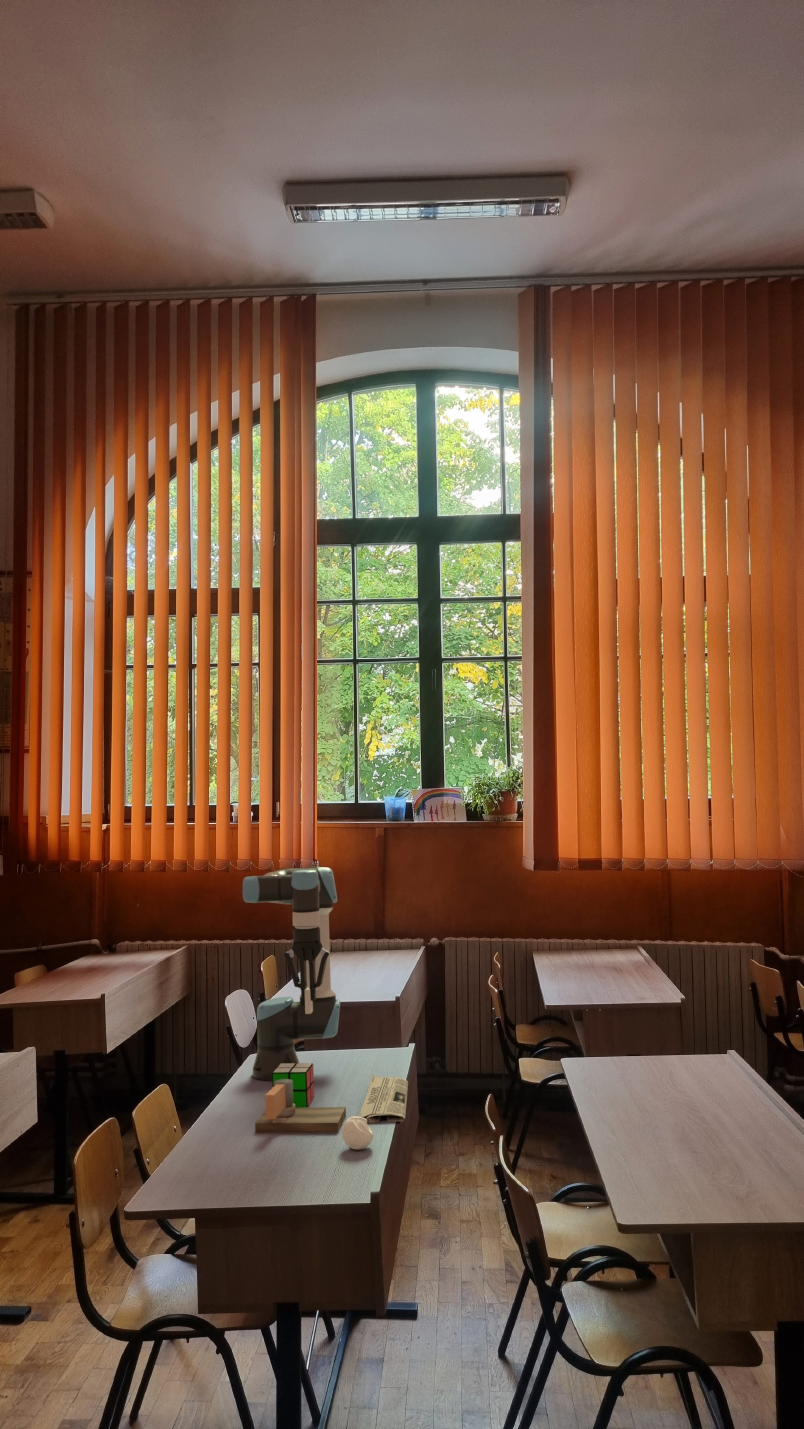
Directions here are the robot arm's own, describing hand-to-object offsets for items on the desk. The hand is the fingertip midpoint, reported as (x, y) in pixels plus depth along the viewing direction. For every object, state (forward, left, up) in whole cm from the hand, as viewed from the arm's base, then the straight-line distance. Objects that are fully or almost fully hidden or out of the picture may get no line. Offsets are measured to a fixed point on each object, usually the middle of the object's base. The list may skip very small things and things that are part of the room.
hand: (309, 1012), depth 267 cm
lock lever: (+9, -7, -23) cm, 26 cm away
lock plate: (+6, -2, -28) cm, 29 cm away
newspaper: (-13, +19, -29) cm, 36 cm away
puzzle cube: (-12, -8, -28) cm, 32 cm away
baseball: (+25, +16, -28) cm, 41 cm away
